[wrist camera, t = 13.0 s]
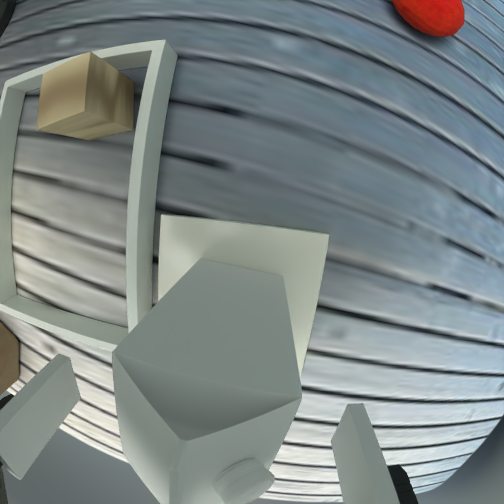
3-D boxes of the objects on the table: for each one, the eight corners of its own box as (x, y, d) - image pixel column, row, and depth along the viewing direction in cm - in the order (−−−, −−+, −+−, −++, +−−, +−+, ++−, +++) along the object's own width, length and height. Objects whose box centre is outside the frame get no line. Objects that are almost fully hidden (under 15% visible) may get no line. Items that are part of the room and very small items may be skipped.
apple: (374, 23, 19) (400, -16, 12) (384, -17, 17) (405, -52, 10) (440, 60, 19) (478, 35, 12) (444, 17, 17) (474, -9, 10)
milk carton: (188, 330, 25) (95, 510, 7) (199, 256, 24) (50, 417, 5) (264, 347, 25) (256, 551, 7) (283, 275, 24) (317, 490, 5)
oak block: (92, 95, 22) (43, 73, 14) (134, 82, 21) (90, 51, 14) (90, 140, 23) (36, 129, 15) (133, 129, 23) (84, 111, 15)
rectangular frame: (23, 86, 21) (5, 81, 18) (177, 55, 21) (165, 39, 17) (14, 300, 27) (-3, 308, 24) (153, 342, 27) (140, 359, 23)
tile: (165, 213, 24) (161, 214, 23) (326, 233, 24) (329, 234, 23) (162, 352, 27) (159, 357, 26) (299, 371, 27) (299, 377, 26)
